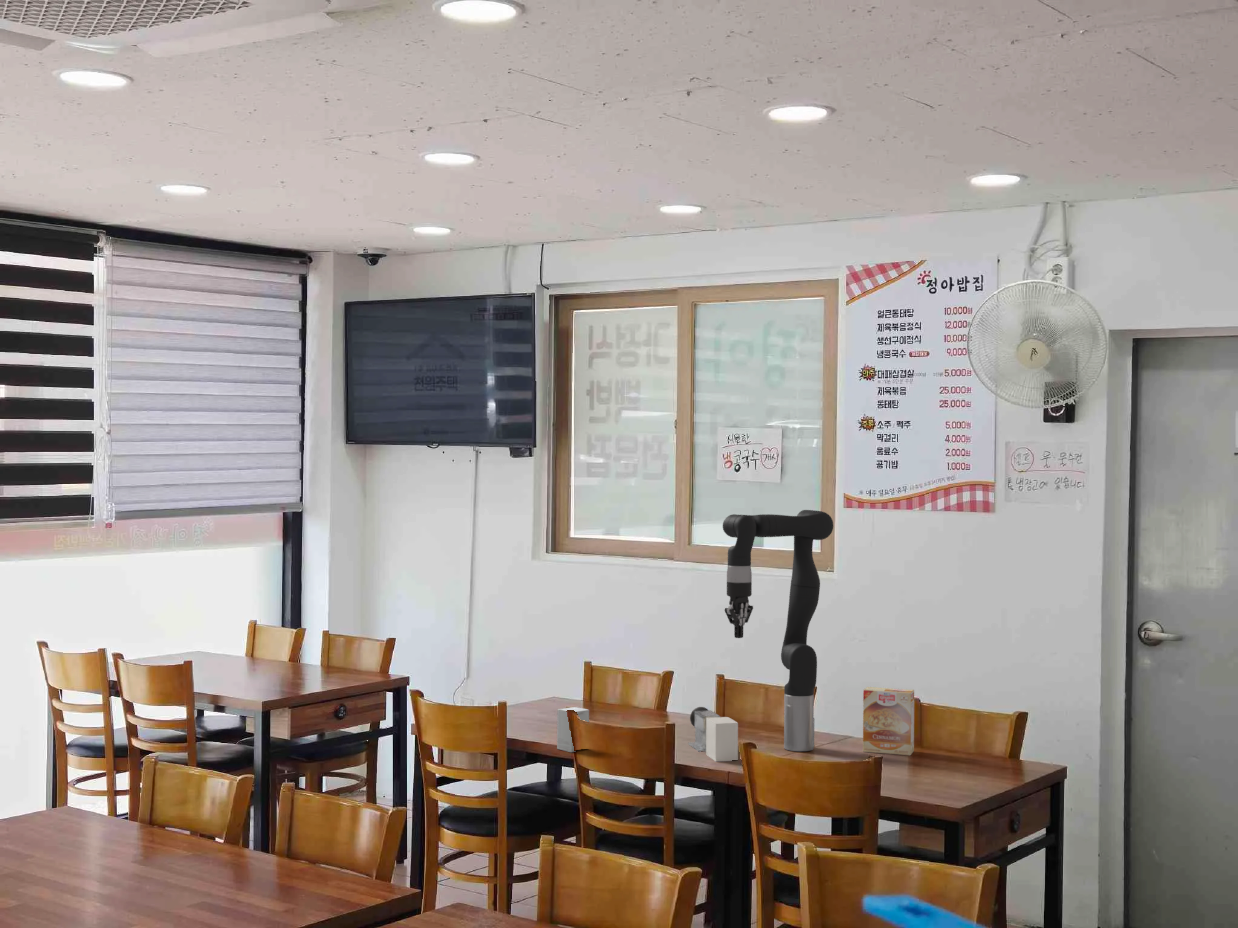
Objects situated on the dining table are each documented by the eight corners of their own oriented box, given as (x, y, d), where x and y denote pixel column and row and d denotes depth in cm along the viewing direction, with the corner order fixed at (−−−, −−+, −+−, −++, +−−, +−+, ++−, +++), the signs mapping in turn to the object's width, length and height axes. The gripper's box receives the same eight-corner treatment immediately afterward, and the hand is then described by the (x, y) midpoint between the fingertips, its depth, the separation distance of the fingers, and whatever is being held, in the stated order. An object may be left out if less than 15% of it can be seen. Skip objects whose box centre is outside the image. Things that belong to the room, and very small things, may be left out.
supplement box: (571, 752, 425) (571, 711, 425) (556, 748, 431) (556, 708, 431) (589, 749, 430) (589, 709, 430) (574, 745, 435) (574, 706, 435)
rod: (689, 728, 441) (690, 707, 441) (710, 728, 443) (711, 706, 443) (710, 742, 419) (710, 719, 419) (732, 741, 420) (732, 719, 420)
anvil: (688, 743, 439) (688, 710, 439) (715, 742, 441) (715, 709, 441) (698, 751, 428) (698, 717, 428) (726, 750, 430) (726, 716, 430)
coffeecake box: (862, 751, 429) (862, 689, 429) (866, 747, 435) (866, 686, 435) (911, 755, 423) (911, 692, 423) (914, 751, 430) (914, 688, 430)
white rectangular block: (706, 754, 423) (706, 717, 423) (727, 753, 425) (728, 716, 425) (715, 761, 413) (715, 723, 413) (737, 760, 415) (737, 722, 415)
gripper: (737, 582, 408) (737, 640, 408) (761, 579, 419) (760, 636, 419) (716, 581, 413) (716, 638, 413) (740, 578, 423) (740, 634, 423)
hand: (738, 637), depth 416 cm, fingers closed
